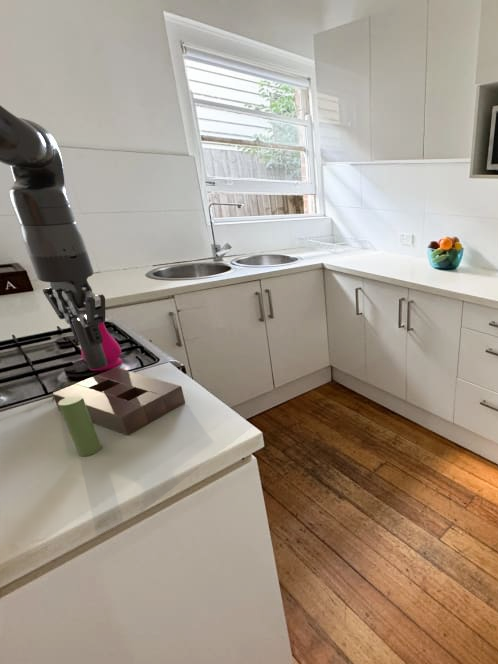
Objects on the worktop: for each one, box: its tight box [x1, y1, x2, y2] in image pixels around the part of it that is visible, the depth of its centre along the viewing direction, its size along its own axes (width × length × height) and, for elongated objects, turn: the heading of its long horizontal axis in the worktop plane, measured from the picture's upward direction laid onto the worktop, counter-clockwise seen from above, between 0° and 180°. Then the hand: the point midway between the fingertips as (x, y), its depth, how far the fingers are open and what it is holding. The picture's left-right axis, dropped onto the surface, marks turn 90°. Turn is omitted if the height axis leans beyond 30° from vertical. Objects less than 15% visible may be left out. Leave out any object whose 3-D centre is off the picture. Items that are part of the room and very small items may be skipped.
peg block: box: [51, 367, 186, 436], centre depth 75 cm, size 12×20×4 cm, turn 69°
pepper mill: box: [80, 307, 123, 372], centre depth 86 cm, size 7×7×20 cm
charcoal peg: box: [71, 315, 108, 370], centre depth 72 cm, size 3×3×10 cm
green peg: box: [58, 395, 102, 457], centre depth 62 cm, size 3×3×10 cm
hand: (90, 342), depth 72 cm, fingers closed on charcoal peg, 3 cm apart
